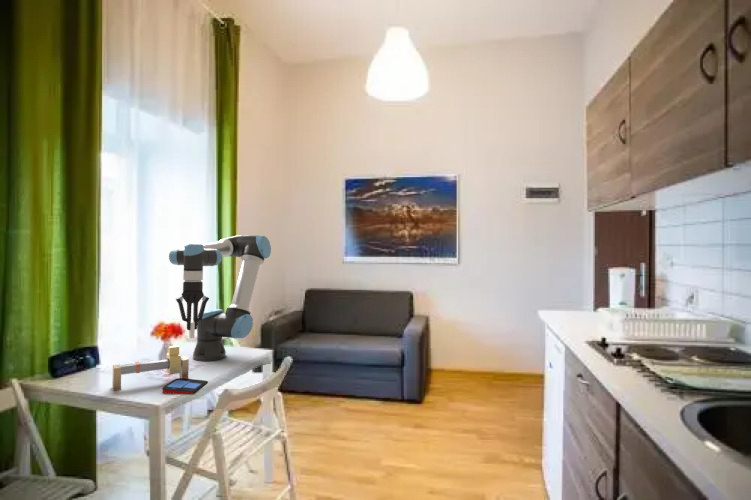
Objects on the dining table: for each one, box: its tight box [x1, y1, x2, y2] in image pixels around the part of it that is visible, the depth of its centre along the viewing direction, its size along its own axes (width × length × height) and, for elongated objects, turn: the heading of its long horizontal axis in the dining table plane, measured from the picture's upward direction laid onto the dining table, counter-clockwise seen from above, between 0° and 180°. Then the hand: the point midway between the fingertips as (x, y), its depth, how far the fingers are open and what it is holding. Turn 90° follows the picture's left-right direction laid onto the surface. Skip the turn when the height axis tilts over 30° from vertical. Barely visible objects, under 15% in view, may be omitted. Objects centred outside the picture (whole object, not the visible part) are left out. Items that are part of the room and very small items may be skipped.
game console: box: [161, 378, 209, 395], centre depth 170 cm, size 14×13×2 cm
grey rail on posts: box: [111, 356, 190, 392], centre depth 174 cm, size 26×5×9 cm, turn 125°
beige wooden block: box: [166, 345, 182, 375], centre depth 179 cm, size 4×7×10 cm, turn 35°
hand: (191, 337), depth 182 cm, fingers closed
